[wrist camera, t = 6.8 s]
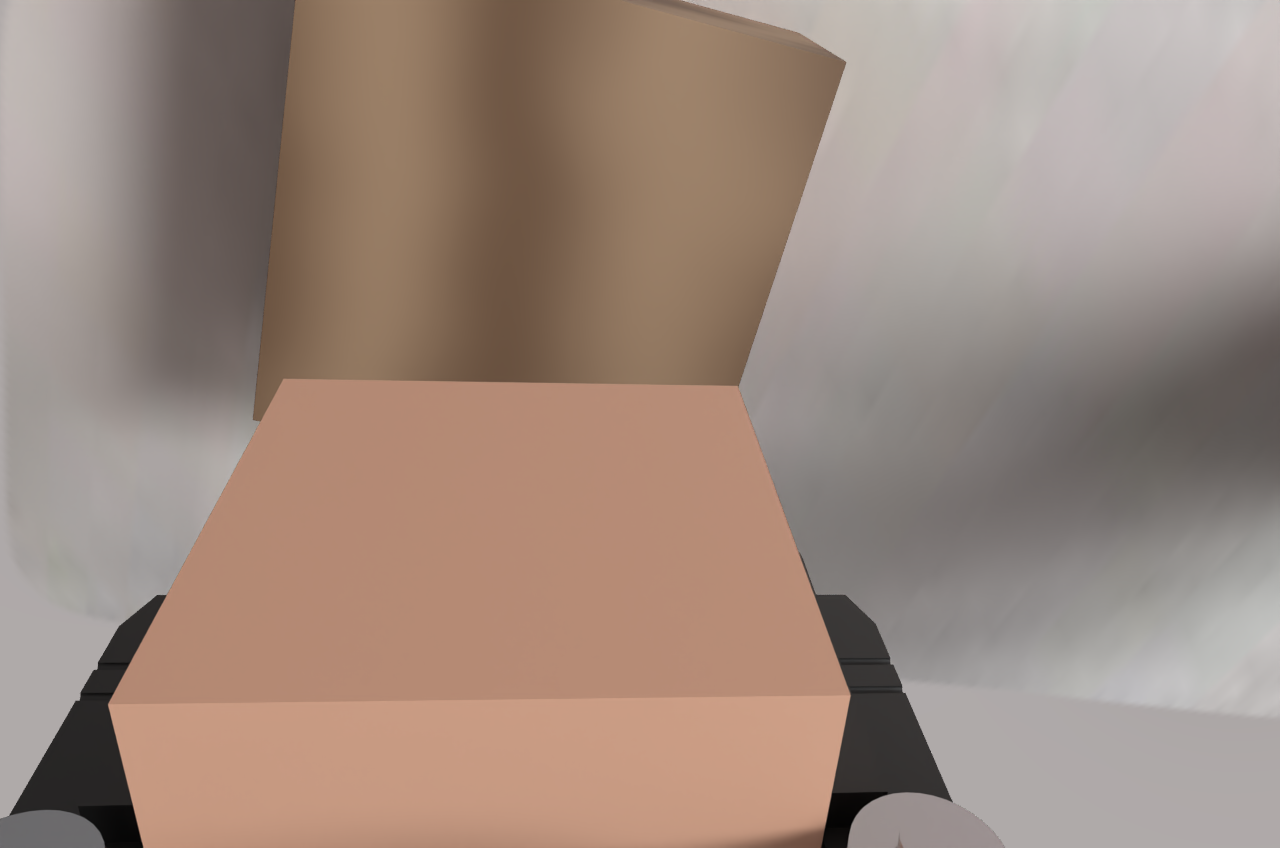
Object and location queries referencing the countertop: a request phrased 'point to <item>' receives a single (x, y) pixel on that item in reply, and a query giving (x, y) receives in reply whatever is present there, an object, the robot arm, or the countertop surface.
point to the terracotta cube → (488, 631)
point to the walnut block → (534, 190)
